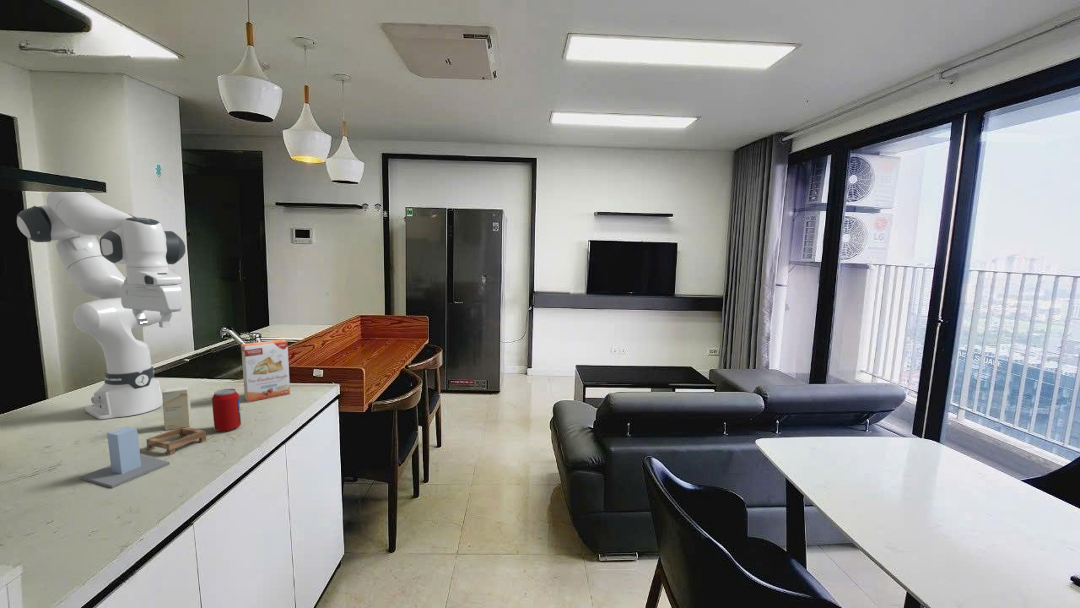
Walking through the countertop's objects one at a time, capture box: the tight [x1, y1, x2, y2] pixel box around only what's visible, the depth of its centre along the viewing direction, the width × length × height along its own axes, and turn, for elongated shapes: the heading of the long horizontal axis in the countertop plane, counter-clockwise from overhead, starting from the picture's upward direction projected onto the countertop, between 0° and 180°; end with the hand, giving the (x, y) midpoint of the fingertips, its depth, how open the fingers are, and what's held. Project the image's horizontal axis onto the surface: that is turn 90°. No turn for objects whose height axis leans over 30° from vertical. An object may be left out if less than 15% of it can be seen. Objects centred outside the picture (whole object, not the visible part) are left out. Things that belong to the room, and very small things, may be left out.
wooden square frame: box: [145, 426, 207, 456], centre depth 123 cm, size 9×9×3 cm
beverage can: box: [211, 388, 242, 433], centre depth 134 cm, size 7×7×12 cm
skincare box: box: [161, 385, 192, 431], centre depth 136 cm, size 6×4×12 cm
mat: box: [80, 454, 170, 489], centre depth 109 cm, size 12×12×1 cm
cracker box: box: [240, 339, 291, 403], centre depth 163 cm, size 14×6×21 cm, turn 134°
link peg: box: [106, 426, 141, 474], centre depth 108 cm, size 4×4×10 cm
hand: (153, 326), depth 122 cm, fingers open, 8 cm apart
